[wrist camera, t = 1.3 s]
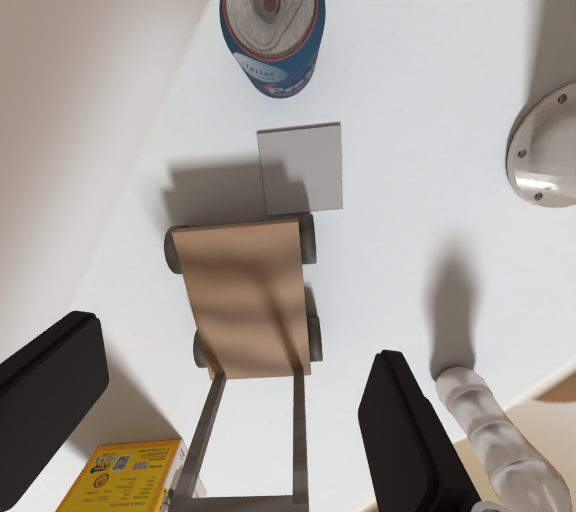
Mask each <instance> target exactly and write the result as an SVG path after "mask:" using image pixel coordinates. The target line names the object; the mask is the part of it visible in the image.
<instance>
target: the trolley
mask: <svg viewBox="0 0 576 512" xmlns="http://www.w3.org/2000/svg"><path fill="white" fill-rule="evenodd" d="M298 222H299V223H298ZM164 252H165V258H166V261H167V264H168V266H169V268H170V270H171V271H172V272H173V273H175V274H183V277H184V281H185V285H186V289H187V293H188V296H189V300H190V304H191V308H192V311H193V315H194V319H195V323H196V326H197V330H196V333H195V337H194V343H193V354H194V360H195V363H196V365H197V366H198V367H199V368H206V367H207V368H208V372H209V375H210V379H211V380H213V382H212V385H211V388H210V391H209V394H208V397H207V399H206V402H205V405H204V408H203V411H202V414H201V417H200V419H199V422H198V425H197V428H196V431H195V434H194V436H193V439H192V442H191V445H190V448H189V451H188V454H187V456H186V459H185V462H184V465H183V468H182V471H181V474H180V476H179V479H178V482H177V485H176V488H175V491H174V493H173V496H172V499H171V502H170V505H169V508H168V511H167V512H309V496H308V469H307V442H306V415H305V388H304V375H311V366H310V362H314V361H323V356H322V342H321V331H320V322H319V317H312V318H306V306H305V294H304V282H303V270H302V264H315V263H316V243H315V230H314V221H313V215H312V214H310V215H299V216H298V218H293V219H281V220H270V221H259V222H247V223H236V224H224V225H213V226H201V227H190V226H188V225H185V226H174V227H170V228H169V229H168V231H167V233H166V235H165V240H164ZM307 329H308V330H307ZM284 376H294V407H293V495H284V496H247V497H210V498H192V496H193V492H194V489H195V486H196V482H197V479H198V475H199V472H200V469H201V465H202V462H203V458H204V455H205V452H206V448H207V445H208V441H209V438H210V435H211V431H212V428H213V424H214V421H215V418H216V414H217V411H218V407H219V404H220V401H221V397H222V394H223V390H224V387H225V384H226V380H227V379H246V378H265V377H284Z"/></svg>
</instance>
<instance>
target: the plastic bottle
mask: <svg viewBox="0 0 576 512" xmlns="http://www.w3.org/2000/svg"><path fill="white" fill-rule="evenodd" d="M436 391H437V394H438V397H439V399H440V401H441V402H442V403H443V405H444V406H445V407H446V409H447V410H448V411H449V412H450V413H451V414H452V415H453V417H454V418H455V419H456V421H457V422H458V424H459V425H460V426H461V428H462V429H463V431H464V432H465V434H466V435H467V437H468V439H469V441H470V442H471V444H472V446H473V448H474V450H475V452H476V454H477V455H478V457H479V459H480V461H481V464H482V466H483V468H484V470H485V473H486V475H487V477H488V479H489V481H490V484H491V485H492V488H493V490H494V492H495V494H496V496H497V498H498V499H499V500H500V501H501V502H502V504H503V505H504V506H505V507H506V508H507V509H508V510H510V511H511V512H572V502H571V497H570V492H569V488H568V486H567V484H566V483H565V481H564V479H563V477H562V475H561V474H560V473H559V472H558V471H557V470H556V469H555V467H554V466H552V465H551V464H550V463H549V461H548V460H547V459H546V458H545V457H543V455H542V454H541V453H540V452H538V450H537V449H536V448H535V447H534V446H533V445H532V444H531V443H530V442H529V441H528V440H527V439H526V438H525V437H524V436H523V435H522V434H521V432H520V431H519V430H518V429H517V428H516V427H515V426H514V424H513V423H512V422H511V421H510V420H509V419H508V417H507V416H506V414H505V413H504V411H503V410H502V409H501V407H500V406H499V404H498V403H497V401H496V400H495V398H494V397H493V394H492V392H491V390H490V389H489V387H488V385H487V384H486V382H485V381H484V379H483V378H482V377H480V376H479V375H478V374H477V373H476V372H475V371H473V370H471V369H468V368H465V367H460V366H459V367H452V368H449V369H447V370H445V371H443V372H442V373H441V374H440V375H439V376H438V378H437V381H436Z"/></svg>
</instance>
